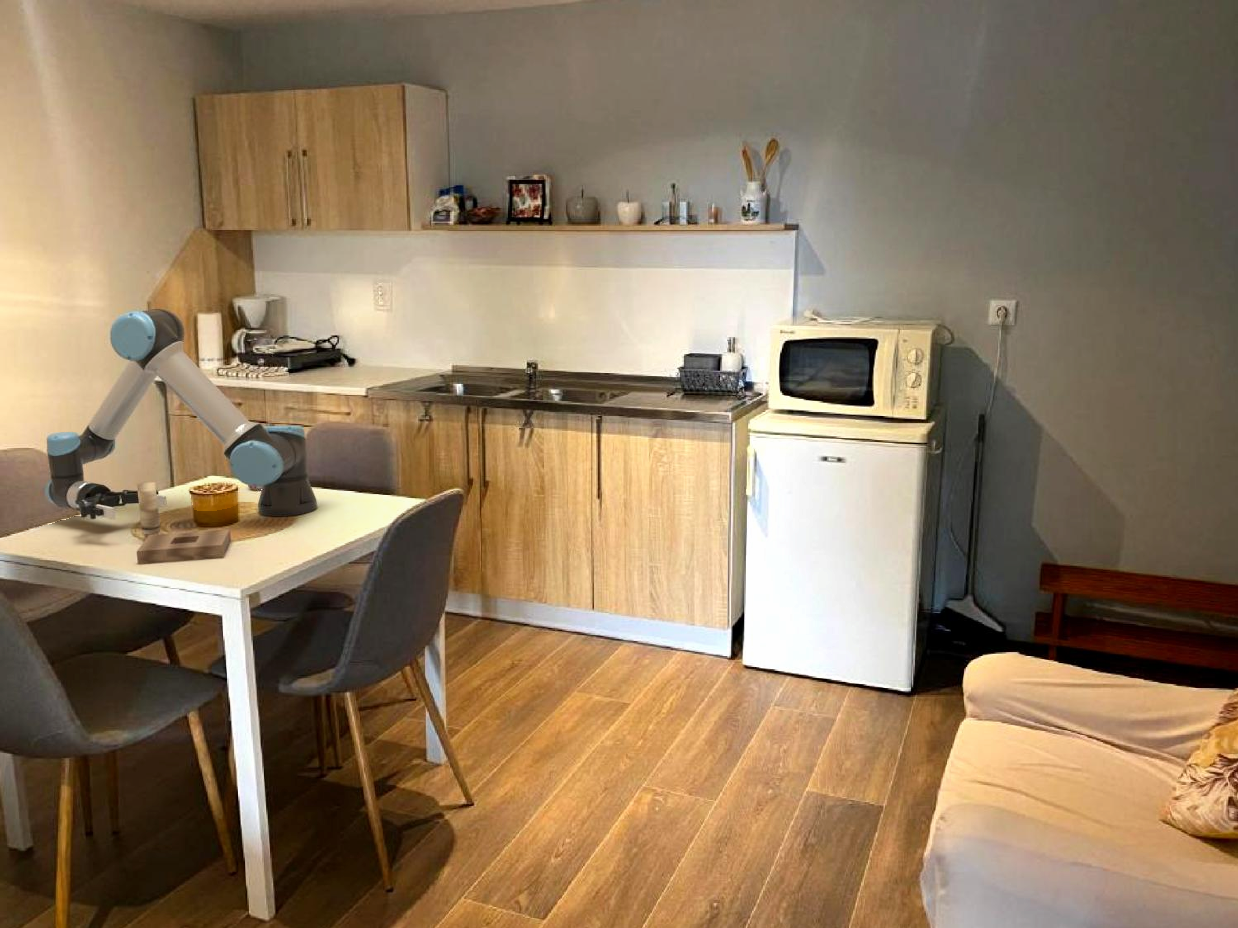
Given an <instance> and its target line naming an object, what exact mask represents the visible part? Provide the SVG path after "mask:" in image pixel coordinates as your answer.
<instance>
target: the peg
mask: <svg viewBox="0 0 1238 928" xmlns="http://www.w3.org/2000/svg"><path fill="white" fill-rule="evenodd" d="M136 487H137V491H138V498H139V503H138V506H139V507H138V508H139V515H140V525H141V526H140V527H141V532H142V534H144V541H145V540H146V539H147V537H148V536H149V535H158V534H160V532H161V523H160V516H159V506H158V505H157V495H156V491H157V488H156V482H153V481H144V482H139V483H137V484H136Z"/></svg>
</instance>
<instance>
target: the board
mask: <svg viewBox="0 0 1238 928" xmlns="http://www.w3.org/2000/svg"><path fill="white" fill-rule="evenodd" d="M231 539H232V538H231V529H217V530H216V529H215V530H204V531H203V530H202V531H191V532H190V531H189V532H176V533H163V534H162V533H159V534H158V535H149V536H148V537H147V539H146V540H145V539H144V541H143V542H142V543H141V545H140V546H139V548H138V549H137V550H136V558H137V565H142V564H143V565H144V564H158V563H159V564H160V563H169V562H170V563H171V562H183V561H197V560H211V559H221V558H222V559H223V558H224V556H225V555H226V553H227V550H228V548H229V546H230V544H231V542H232V540H231Z"/></svg>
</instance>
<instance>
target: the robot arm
mask: <svg viewBox="0 0 1238 928" xmlns="http://www.w3.org/2000/svg"><path fill="white" fill-rule="evenodd" d="M109 331H110V334H109V335H110V337H109V341H110V345H111V347H112V349H113V350H114V352H115V353H116V355H118V356H119V357H121V358H122V359H124V360H127V361H128V363H127V364H126V366H125V368H123V371H122V372H121V374H120V375H119V377H118V378H117V380H116V381H115V383H114V384H113V386H112V387H111V389H110V391H109V392H108V393H107V395H106V397H105V398H104V400H103V401H102V403H101V404H100V406H99V407H98V409H97V410H96V412H95V414H94V415H93V417H92V418H91V420H90V422H88V425H87V426H86V428H85V429H84V431H83V432H82V433H81V434H80V435H79V434H78V433H77V432H73V431H62V432H55V433H51V434H48V435H47V437H46V453H47V460H48V466H49V473H50V474H49V475H50V480H49V481H48V482H47V484H46V486H45V489H44V493H45V498H46V499H47V500H48V502H49V503H50V504H53V505H55V506H58V507H60V508H67V509H73V510H76V511H77V512H79V514H80V516H81V518H83V519H84V518H87V517H88V516H87V515H89V516H90V520H96V519H97V517H100V518H105V519H108V520H115V519H116V514H115V513H116V512H115V507H125V506H126V505H133V504H134V505H135V504H136V505H137V504H139V498H138V490H129V489H123V490H122V491H111V489H110V487H108V486H106V485H104V484H100V483H96V482H92V481H87V480H86V481H85V478H84V466H83V465H87V464H89V463H92V462H95V461H97V460H102V459H105V458H106V457H108V456H109V455H111V454H112V453H113V452H114V450H115V449H116V438H117V437H118V436H119V434H120V432H121V431H122V430H123V428H124V427H125V425H126V423H127V422H128V421H129V419H130V417H131V416H132V415H133V412H135V410H136V408H137V407H138V405H139V404H140V402H141V401H142V399H143V398H144V396H146V395H145V394H146V393H147V392H148V390H149V389H150V387H151V386H152V385H153V382H155V380H156V378H157V377H158V378H159V379H160V380H161V381H162V382H163V383H164V384H165V385H166V386H167V387H168V389H170V390H171V392H173V394H174V395H175V396H176V398H178V399H179V400H180V401H181V402H182V403H183V404H184V406H185V407H187V408H188V410H190V411H191V413H193V415H194V416H195V417H196V418H197V419H198V420H199V421H200V422H201V423H202V424H203V425H204V426H205V427H206V428H207V429H208V431H210V432H211V433H212V434H213V435H214V437H216V438H217V440H218V441H219V442H220V443H221V444H222V446H223V447H222V453H223V455H224V456H225V458H227V459H228V461H229V466H230V467H229V468H230V472H231V473H232V475H234V477H235V478H236V479H237V480H238V481H239V482H240V483H242V484H244V485H247V486H248V485H250V486H262V490H260V495H259V499H258V504H257V510H258V511H257V512H258V514H260V515H262V516H265V517H266V516H267V517H290V516H296V515H297V516H298V515H304V514H308V513H311V512H313V511H315V510H316V509H317V508H318V501H317V497H316V496H315V493H314V490H313V488H312V486H311V483H310V481H309V474H308V457H307V444H306V440H307V438H306V435H305V429H304V428H303V427H302V426H300V425H266V426H264V425H262V424H261V423H260V422H252V421H249V419H248V418H247V417H246V416H245V415H244V414H243V413H242V412H241V411H240V410H239V409H238V408H237V407H236V405H235V404H234V403H233V402H232V401H230V400H229V398H228V397H227V396H226V395H225V394H224V393H223V392H222V391H221V389H219V388H218V386H216V384H214V383H213V382H212V380H211V379H210V378H209V377H208V376H207V375H206V374H205V373H204V372H203V371H202V370H201V369H200V367H198V366H197V364H196V363H194V361H193V360H192V359H191V358H190V357H189V356H188V355H187V354H186V353H185V352H184V342H185V341H184V340H185V336H186V334H185V327H184V324H183V322H182V321H181V320H180V318H179V316H177V315H176V314H175V313H173V312H171V310H168V309H167V310H166V309H164V308H163V309H162V308H155V309H152V308H151V309H149V310H148V309H146V310H131V311H129V312H126V313H123V314H121V315H119V316H117V318H116V319H115V320H114V322H113V323H112V325H111V328H110V330H109ZM156 495H157V505H158V507H161V508H166V507H167V508H168V503H167V496H166V495H162V494H160V493H159V490H156Z"/></svg>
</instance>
